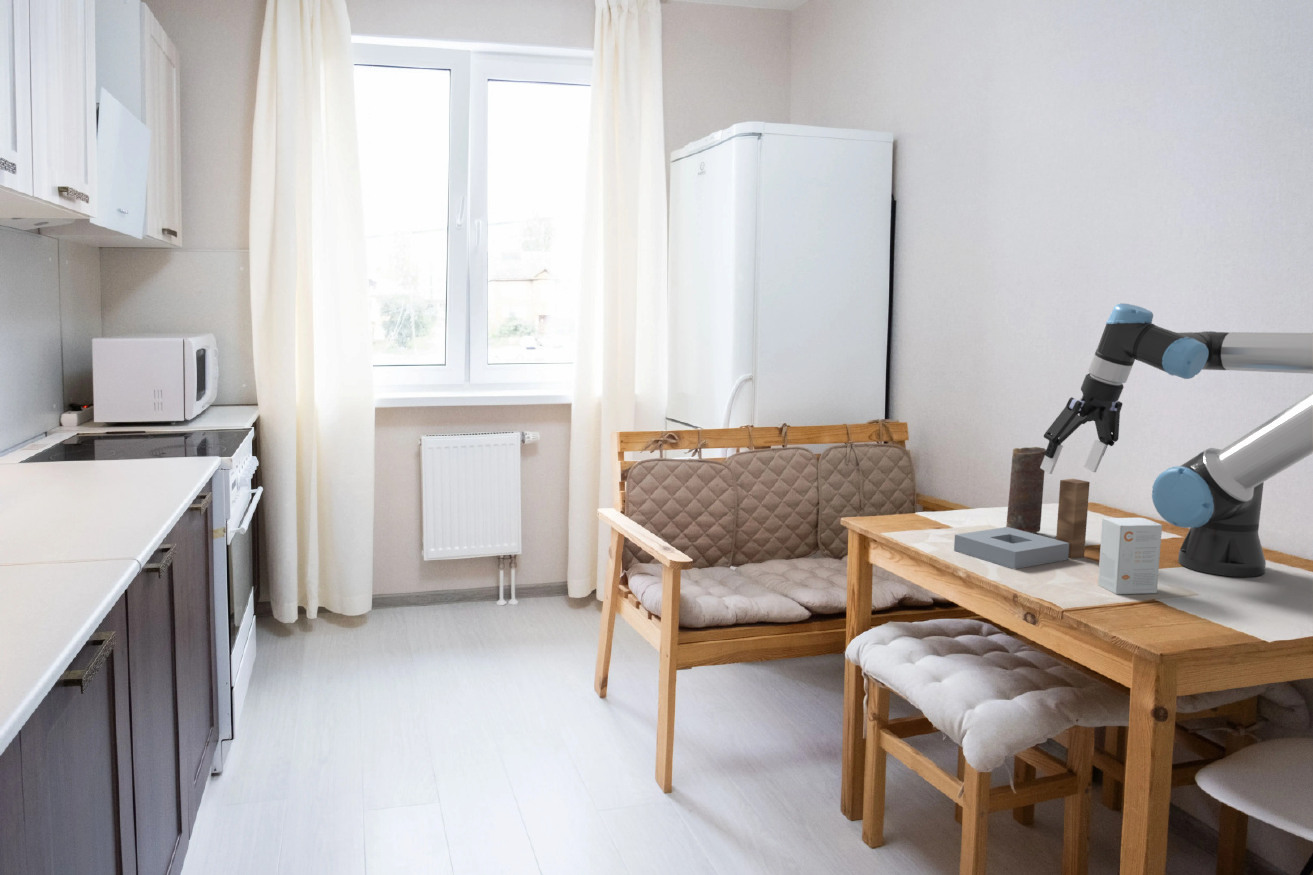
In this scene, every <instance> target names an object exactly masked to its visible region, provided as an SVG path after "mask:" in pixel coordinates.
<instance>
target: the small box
mask: <svg viewBox="0 0 1313 875" xmlns="http://www.w3.org/2000/svg"><path fill="white" fill-rule="evenodd" d="M1101 520H1102V521H1101V532H1100V533H1101V534H1100V535H1101V536H1100V548H1099V549H1100V550H1099V562H1098V564H1099V565H1098V579H1097V580H1098V581H1097V585H1098V586H1099V587H1102V588H1104V589H1105V590H1106V591H1109V592H1111V593H1112V594H1115V595H1137V594H1140V595H1141V594H1157V593H1158V584H1159V583H1158V582H1159V571H1160V569H1159V568H1160V557H1161V546H1162V545H1161V544H1162V543H1161V542H1162V534H1163V533H1162V532H1163V525H1162V524H1161V523H1159V522H1155V521H1153V520H1151V519H1148V518H1144V517H1115V518H1114V517H1106V518H1105V517H1103V518H1102V519H1101Z"/></svg>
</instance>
